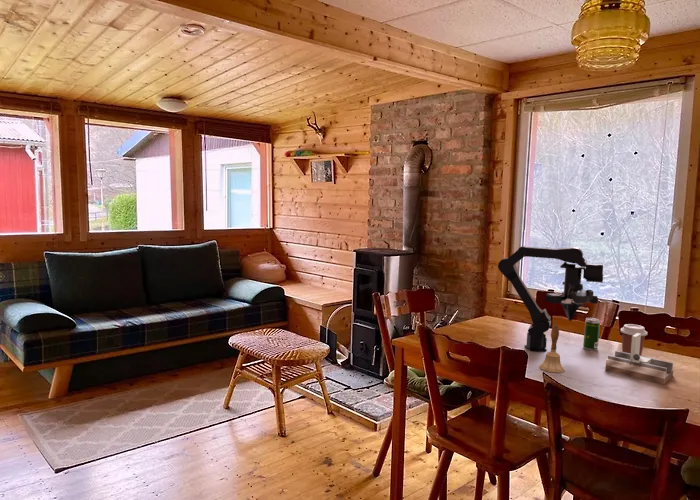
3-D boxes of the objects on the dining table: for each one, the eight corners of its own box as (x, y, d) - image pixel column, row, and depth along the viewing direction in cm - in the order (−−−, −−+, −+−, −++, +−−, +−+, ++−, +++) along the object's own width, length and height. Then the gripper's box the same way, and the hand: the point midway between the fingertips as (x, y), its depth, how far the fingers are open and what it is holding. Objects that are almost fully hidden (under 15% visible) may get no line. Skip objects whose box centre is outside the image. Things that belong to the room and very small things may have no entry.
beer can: (600, 349, 207) (602, 319, 205) (593, 351, 203) (596, 321, 202) (587, 345, 211) (589, 317, 209) (580, 348, 207) (582, 318, 206)
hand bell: (563, 366, 184) (567, 322, 182) (565, 374, 176) (568, 328, 174) (539, 363, 187) (541, 320, 185) (539, 371, 179) (542, 325, 177)
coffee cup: (616, 352, 203) (618, 322, 202) (642, 355, 200) (645, 324, 199) (620, 359, 194) (622, 327, 193) (647, 362, 191) (650, 330, 190)
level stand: (605, 370, 181) (606, 356, 180) (616, 362, 190) (617, 349, 189) (663, 384, 169) (665, 369, 168) (672, 375, 177) (674, 361, 177)
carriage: (626, 369, 176) (629, 337, 175) (634, 363, 182) (637, 333, 181) (642, 373, 172) (645, 341, 171) (650, 367, 179) (653, 336, 178)
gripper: (560, 283, 188) (557, 326, 189) (608, 284, 190) (605, 325, 191) (545, 278, 199) (542, 318, 200) (591, 279, 201) (588, 318, 202)
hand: (569, 320), depth 198 cm, fingers closed
